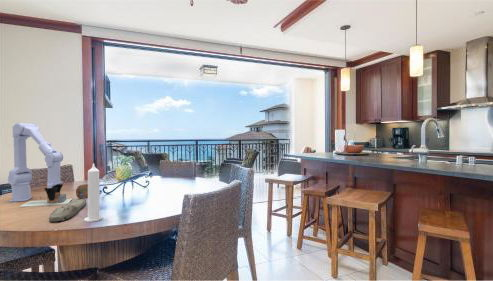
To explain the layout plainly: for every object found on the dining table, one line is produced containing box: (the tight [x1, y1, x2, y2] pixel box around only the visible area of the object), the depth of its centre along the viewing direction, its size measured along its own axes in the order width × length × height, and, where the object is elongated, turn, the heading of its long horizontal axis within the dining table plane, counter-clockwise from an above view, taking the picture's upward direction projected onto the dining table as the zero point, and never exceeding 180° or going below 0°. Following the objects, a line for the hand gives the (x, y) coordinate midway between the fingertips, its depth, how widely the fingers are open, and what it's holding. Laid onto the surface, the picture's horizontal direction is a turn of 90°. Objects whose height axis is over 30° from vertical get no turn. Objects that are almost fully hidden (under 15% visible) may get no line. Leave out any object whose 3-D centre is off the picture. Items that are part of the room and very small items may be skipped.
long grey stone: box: [48, 198, 87, 223], centre depth 131 cm, size 35×5×10 cm
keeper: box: [46, 191, 61, 203], centre depth 149 cm, size 4×5×4 cm
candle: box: [83, 162, 104, 223], centre depth 120 cm, size 7×7×25 cm
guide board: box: [18, 193, 74, 208], centre depth 148 cm, size 12×21×4 cm, turn 110°
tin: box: [75, 182, 88, 200], centre depth 163 cm, size 15×3×8 cm, turn 168°
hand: (54, 199), depth 149 cm, fingers open, 7 cm apart
